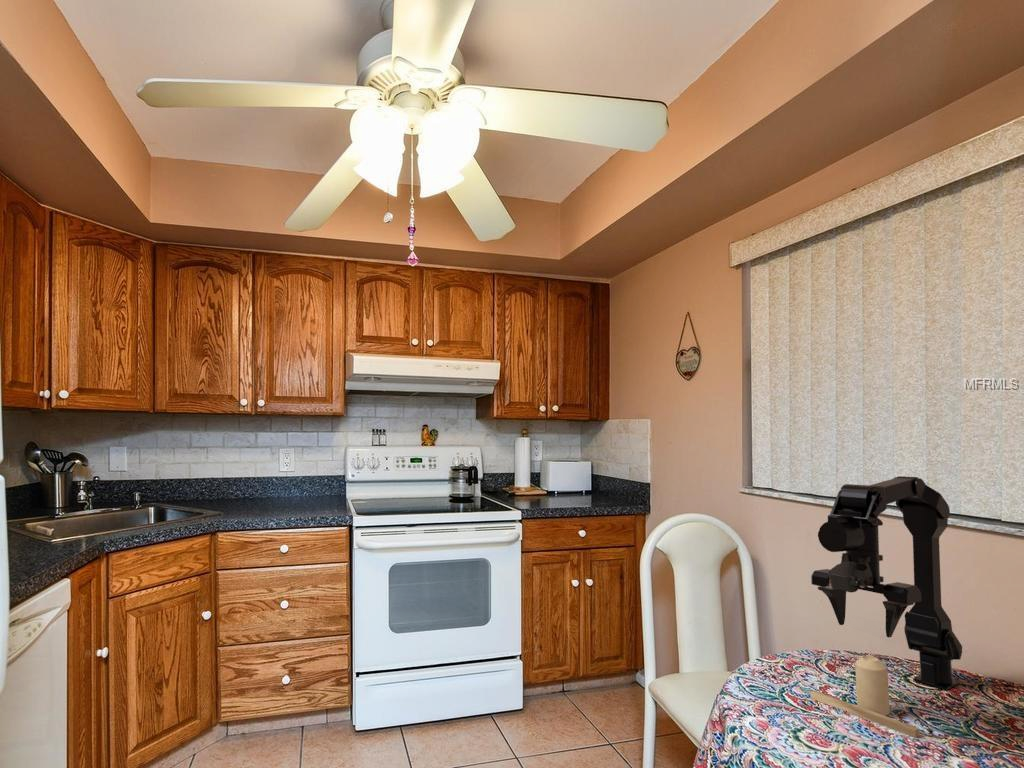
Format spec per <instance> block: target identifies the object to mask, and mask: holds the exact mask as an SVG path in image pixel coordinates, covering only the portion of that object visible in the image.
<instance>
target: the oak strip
mask: <svg viewBox="0 0 1024 768" xmlns="http://www.w3.org/2000/svg"><path fill="white" fill-rule="evenodd" d="M809 693H810V699H812V700H815V701H818V702H819V703H822V704H826V705H827V706H828V705H829V706H831V707H833V708H836V709H839V710H841V711H843V712H846V711H847V713H849V714H852V715H854V716H858V717H860V718H863V719H865V720H868V721H870V720H871V721H870V722H873V721H874V722H873V723H875V722H877V723H876V724H878V723H879V724H878V725H881V724H882V725H881V726H883V725H884V727H886V726H887V727H886V728H889V727H890V728H889V729H891V728H892V729H891V730H894V729H895V731H897V732H900V733H902V734H905V735H908V736H910V737H914V738H915V737H916V738H918V737H920V736H921V735H920V733H921V732H920V731H921V730H920V728H918V727H916V726H913V725H910V724H908V723H905V722H902V721H899V720H897V719H894V718H891V717H888V716H883V715H881V714H878V713H875V712H872V711H870V710H867V709H864V708H861V707H859V706H857V704H853V703H850V702H847V701H844V700H842V699H839V698H836V697H835V696H832V695H828V694H826V693H822V692H820V691H817V690H812V691H810V692H809Z"/></svg>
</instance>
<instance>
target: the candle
mask: <svg viewBox="0 0 1024 768" xmlns="http://www.w3.org/2000/svg"><path fill="white" fill-rule="evenodd" d="M854 664H855V665H854V666H855V667H854V670H855V689H856V690H855V691H856V706H859V707H861V708H864V709H867V710H870V711H872V712H875V713H878V714H881V715H883V716H886V717H888V716H889V715H890V712H891V709H890V708H891V706H890V689H889V673H888V672H889V671H888V666H887V664H885V662H882V661H881V660H880V659H879V658H877V657H876V656H873V655H872V654H869V655H865V654H864V655H863V656H861V657H860V658H859V659H857V660H856V661H854Z"/></svg>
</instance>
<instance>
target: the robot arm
mask: <svg viewBox="0 0 1024 768" xmlns="http://www.w3.org/2000/svg"><path fill="white" fill-rule="evenodd" d="M891 503H895V506H896V507H897V509H898V510H899V511H900V513H901V514H902V519H903V524H904V526H905V527H906V528H907V530H908V531H909V533H910V534H911V536H912V552H913V553H912V554H913V558H912V559H913V560H912V561H913V584H909V583H904V582H898V581H897V582H892V583H891V582H890V583H884V576H883V575H880V574H881V573H880V572H881V571H880V569H881V568H880V562H882V561H883V560H884V556H883V555H882V554H880V550H879V549H880V548H879V547H880V545H879V544H880V543H879V542H880V541H879V539H880V538H879V526H883V525H884V523H883V521H882V520H881V519H880V518H879V515H881V514H882V513H883V512H885V511H886V510H887V505H888V504H891ZM950 510H951V509H950V506H949V504H948V503H947V501H946V500H945V498H944V497H943V495H942V494H941V493H940V492H939V491H937V490H935V489H933V488H932V487H930V486H929V485H927V484H926V483H925V481H924V480H923V479H922V478H919V477H917V476H905V475H904V476H902V475H901V476H899V475H898V476H895V477H894V478H891V479H887V480H884V481H883V480H882V481H880V482H876V483H871V484H870V485H869V484H868V485H867V484H866V485H865V484H852V483H851V484H850V483H846V484H843V485H842V486H841V487H840V490H839V491H838V493H837V496H836V498H835V500H834V504H833V506H832V508H831V511H830V513H829V515H827V521H826V522H824V523H823V524H821V526H820V527H819V530H818V532H817V537H818V541H819V544H820V545H821V546H822V548H823V549H825V550H826V551H828V552H831V553H839V552H842V555H841V561H840V563H838V564H836V565H835V566H834V567H831V569H829V568H825V569H817V570H814V571H813V572H812V574H811V576H810V578H811V582H810V583H811V584H812V585H813V586H818V587H817V590H819V591H821V592H822V593H824V595H826V597H827V598H828V599H829V603H830V604H831V607H832V609H833V611H834V615H835V618H836V619H837V622H838V625H839V626H844V625H845V620H846V608H847V607H846V606H847V605H846V604H847V593H856V592H857V591H858V590H861V591H866V592H871V593H876V594H879V595H880V594H881V595H883V597H885V599H886V600H883V601H882V605H883V607H884V609H885V633H886V634H885V635H886V637H887V638H892V637H893V634H894V633H895V630H896V628H897V625H898V623H899V621H900V619H901V618H902V616H903V614H904V612H905V611H906V610H907V607H909V606H912V607H911V608H910V609H909V611H906V612H905V614H904V621H905V623H904V628H903V629H904V635H905V639H906V643H907V646H908V649H909V650H911V651H912V650H913V651H917V652H918V653H919V670H920V674H919V675H916V676H914V677H913V681H915V682H919V683H921V684H926V685H929V686H931V687H935V688H938V689H942V690H949V689H951V688H953V687H955V686H958V685H961V682H960V680H958V679H954V678H953V670H952V668H953V667H952V661H954V660H961V659H962V658H961V657H962V655H963V645H962V644H961V642H960V640H959V639H958V637H957V636H956V635H955V633H954V631H953V626H952V621H951V618H950V617H949V615H948V613H947V612H946V611H945V610H944V608H943V607H942V584H941V583H942V582H941V559H940V558H941V557H940V552H941V551H940V537H941V536H942V535H943V533H944V532H945V531H946V529H947V527H948V523H949V517H950V513H951V512H950ZM843 552H844V553H843Z"/></svg>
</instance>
